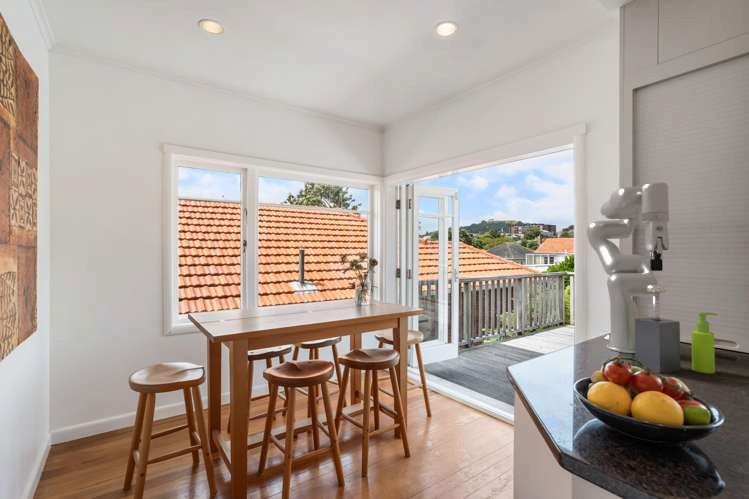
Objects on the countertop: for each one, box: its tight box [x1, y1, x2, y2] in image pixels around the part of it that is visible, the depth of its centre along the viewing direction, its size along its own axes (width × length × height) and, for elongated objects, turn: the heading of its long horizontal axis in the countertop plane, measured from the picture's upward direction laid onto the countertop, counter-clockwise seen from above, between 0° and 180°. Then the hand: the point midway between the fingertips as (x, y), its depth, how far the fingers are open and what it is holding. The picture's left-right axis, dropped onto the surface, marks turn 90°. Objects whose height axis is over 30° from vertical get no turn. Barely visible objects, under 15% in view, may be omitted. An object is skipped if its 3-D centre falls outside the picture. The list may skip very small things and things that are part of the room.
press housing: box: [634, 316, 681, 373], centre depth 132 cm, size 9×9×17 cm
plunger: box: [647, 284, 666, 321], centre depth 132 cm, size 6×6×19 cm
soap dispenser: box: [691, 311, 718, 374], centre depth 128 cm, size 6×7×20 cm
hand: (656, 270), depth 131 cm, fingers closed
